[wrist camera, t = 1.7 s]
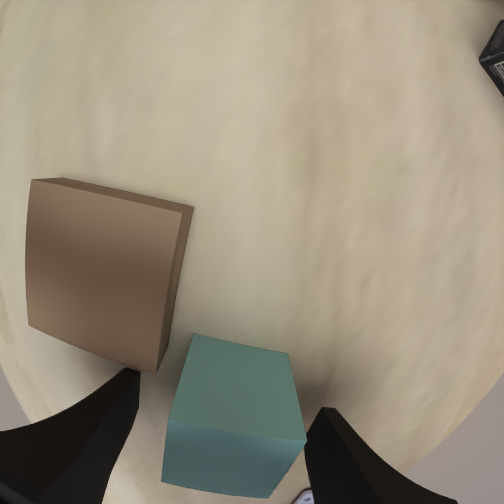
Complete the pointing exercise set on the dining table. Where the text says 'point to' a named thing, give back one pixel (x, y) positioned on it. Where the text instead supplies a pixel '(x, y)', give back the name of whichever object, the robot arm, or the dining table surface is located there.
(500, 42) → the small box
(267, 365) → the teal brick
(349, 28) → the dining table surface
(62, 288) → the base brick
